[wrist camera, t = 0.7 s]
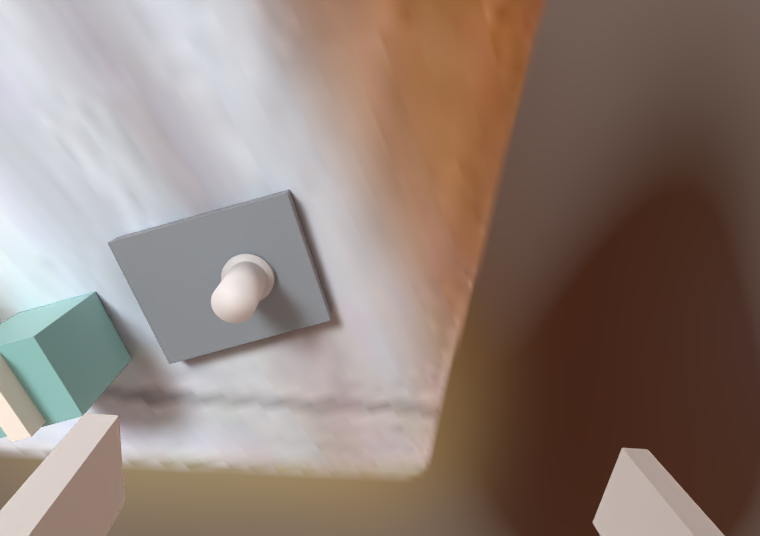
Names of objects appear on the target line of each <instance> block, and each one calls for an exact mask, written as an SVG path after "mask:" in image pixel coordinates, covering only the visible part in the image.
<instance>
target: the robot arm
mask: <svg viewBox="0 0 760 536" xmlns="http://www.w3.org/2000/svg"><path fill="white" fill-rule="evenodd" d="M124 503H125V499H124V485H123V470H122V456H121V441H120V427H119V415H105V414H89V413H85V414H84V415H83V416H82V417H81V418H80V420H79V421H78V422H77V423H76V424H75V425H74V426H73V428H72V429H71V430H70V431H69V432H68V433H67V434H66V436H65V437H64V438H63V439H62V440H61V441H60V443H59V444H58V445H57V446H56V447H55V448H54V449H53V451H52V452H51V453H50V454H49V455H48V456H47V458H46V459H45V460H44V461H43V462H42V464H40V466H39V467H38V468H37V469H36V470H35V471H34V473H33V474H32V475H31V476H30V477H29V478H28V479H27V481H26V482H25V483H24V484H23V485H22V486H21V487H20V489H19V490H18V491H17V492H16V493H15V494H14V496H13V497H12V498H11V499H10V500H9V501H8V502H7V504H6V505H5V506H4V507H3V508H2V509H1V511H0V536H106V534H107V533H108V531H109V529H110V527H111V526H112V524H113V522H114V520H115V519H116V517H117V515H118V513H119V512H120V510H121V508H122V506H123V505H124ZM593 524H594V526H595V528H596V529H597V531H598V532H599V534H600V536H724V535H723V533H722V532H721V531H720V530H719V529H718V528H717V527H716V526H715V525H714V524H713V522H712V521H711V520H710V519H709V518H708V517H707V516H706V515H705V513H704V512H703V511H702V510H701V509H700V508H699V506H697V504H696V503H695V502H694V501H693V500H692V499H691V498H690V497H689V495H688V494H687V493H686V492H685V491H684V490H683V489H682V487H681V486H680V485H679V484H678V483H677V482H676V481H675V480H674V478H673V477H672V476H671V475H670V474H669V473H668V472H667V471H666V470H665V468H664V467H663V466H662V465H661V464H660V463H659V462H658V460H657V459H656V458H655V457H654V456H653V455H652V454H651V453H650V451H649V450H647V449H633V448H622V449H621V452H620V454H619V457H618V460H617V462H616V465H615V467H614V470H613V472H612V475H611V477H610V480H609V482H608V485H607V488H606V490H605V492H604V495H603V497H602V500H601V503H600V505H599V508H598V510H597V513H596V515H595V518H594V520H593Z"/></svg>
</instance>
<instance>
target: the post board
mask: <svg viewBox="0 0 760 536" xmlns="http://www.w3.org/2000/svg"><path fill="white" fill-rule="evenodd" d="M108 244H109V246H110V248H111V250H112V252H113V254H114V256H115V258H116V260H117V262H118V264H119V266H120V268H121V270H122V272H123V274H124V276H125V278H126V280H127V282H128V284H129V286H130V288H131V290H132V292H133V293H134V295H135V297H136V299H137V301H138V303H139V305H140V307H141V309H142V311H143V313H144V315H145V317H146V319H147V321H148V323H149V325H150V327H151V329H152V331H153V333H154V335H155V337H156V339H157V341H158V343H159V344H160V346H161V348H162V350H163V352H164V354H165V356H166V358H167V360H168V362H169V364H172V363H175V362H179V361H183V360H186V359H190V358H194V357H197V356H201V355H205V354H209V353H212V352H216V351H220V350H223V349H227V348H231V347H234V346H238V345H242V344H246V343H249V342H253V341H257V340H260V339H264V338H268V337H271V336H275V335H279V334H282V333H286V332H290V331H294V330H297V329H301V328H305V327H308V326H312V325H316V324H319V323H323V322H327V321H330V318H331V311H330V308H329V306H328V303H327V300H326V297H325V294H324V291H323V288H322V285H321V282H320V279H319V276H318V273H317V270H316V267H315V264H314V261H313V258H312V255H311V252H310V249H309V246H308V243H307V240H306V237H305V234H304V231H303V229H302V226H301V223H300V220H299V217H298V214H297V211H296V208H295V205H294V202H293V199H292V196H291V193H290V190H286V191H283V192H279V193H275V194H272V195H268V196H265V197H261V198H257V199H254V200H250V201H247V202H243V203H239V204H236V205H232V206H229V207H225V208H221V209H218V210H214V211H211V212H207V213H203V214H200V215H196V216H193V217H189V218H185V219H182V220H178V221H175V222H171V223H167V224H164V225H160V226H157V227H153V228H149V229H146V230H142V231H139V232H135V233H131V234H128V235H124V236H121V237H117V238H115V239H114V240H112V241H110V242H108Z"/></svg>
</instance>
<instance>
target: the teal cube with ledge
mask: <svg viewBox="0 0 760 536" xmlns="http://www.w3.org/2000/svg"><path fill="white" fill-rule="evenodd" d="M131 359H132V358H131V356H130V354H129V353H128V351H127V349H126V347H125V345H124V343H123V342H122V340H121V338H120V336H119V334H118V332H117V331H116V329H115V327H114V325H113V323H112V321H111V319H110V318H109V316H108V314H107V312H106V310H105V308H104V307H103V305H102V303H101V301H100V299H99V297H98V296H97V294H96V292H92V293H88V294H85V295H81V296H77V297H74V298H70V299H66V300H63V301H59V302H55V303H52V304H48V305H45V306H41V307H37V308H34V309H30V310H26V311H23V312H19V313H17V314H16V315H14V316H12V317H11V318H9V319H8V320H6V321H4V322H3V323H1V324H0V438H3V437H6V436H8V438H9V439H10V441H11V442H14V441H18V440H22V439H26V438H29V437H32V436H33V435H34V434H35V433H36V432H37V431H38V430H39V428H40V427H43V426H47V425H51V424H55V423H58V422H62V421H66V420H69V419H73V418H77V417H81V416H83V415H84V414H85V413H86V412H87V411H88V409H89V408H90V407H91V406H92V405H93V404H94V402H95V401H96V400H97V399H98V398H99V397H100V395H101V394H102V393H103V392H104V391H105V390H106V388H107V387H108V386H109V385H110V384H111V383H112V381H113V380H114V379H115V378H116V377H117V376H118V374H119V373H120V372H121V371H122V370H123V369H124V368H125V366H126V365H127V364H128V363H129V362H130V361H131Z"/></svg>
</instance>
